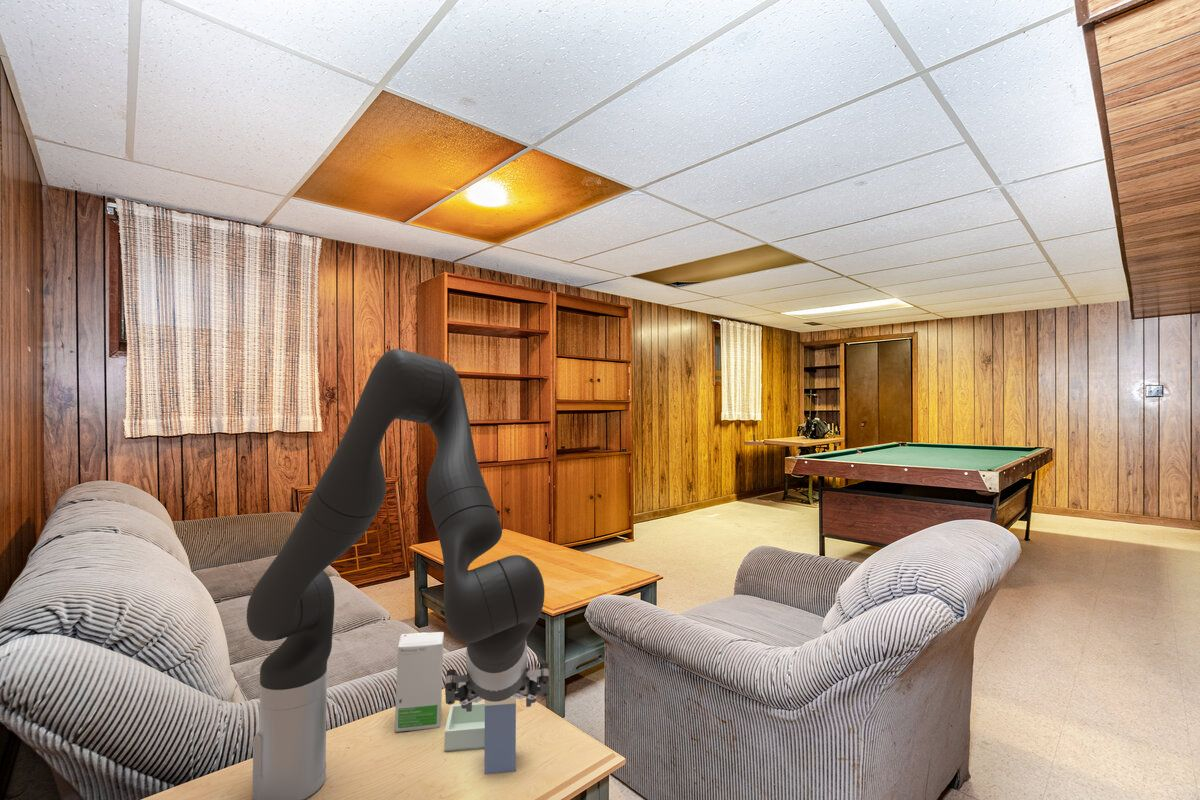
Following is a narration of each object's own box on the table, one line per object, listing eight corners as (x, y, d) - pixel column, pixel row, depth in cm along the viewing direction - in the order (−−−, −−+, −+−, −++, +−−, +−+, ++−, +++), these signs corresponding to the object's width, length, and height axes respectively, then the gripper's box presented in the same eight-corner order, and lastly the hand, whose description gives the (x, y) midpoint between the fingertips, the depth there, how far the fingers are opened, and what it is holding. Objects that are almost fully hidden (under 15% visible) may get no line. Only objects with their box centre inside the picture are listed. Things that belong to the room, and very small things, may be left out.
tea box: (484, 774, 89) (484, 699, 89) (485, 755, 94) (486, 684, 94) (515, 771, 89) (516, 697, 90) (515, 752, 94) (515, 682, 95)
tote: (444, 752, 94) (444, 731, 94) (450, 723, 103) (450, 705, 103) (501, 746, 96) (501, 726, 96) (502, 719, 104) (502, 700, 104)
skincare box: (394, 733, 100) (394, 647, 100) (398, 714, 106) (399, 633, 106) (441, 727, 102) (442, 643, 102) (443, 708, 108) (444, 629, 108)
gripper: (551, 625, 73) (546, 671, 84) (442, 632, 71) (451, 678, 82) (554, 685, 68) (548, 726, 79) (436, 694, 66) (447, 735, 77)
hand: (499, 701), depth 81 cm, fingers open, 8 cm apart
